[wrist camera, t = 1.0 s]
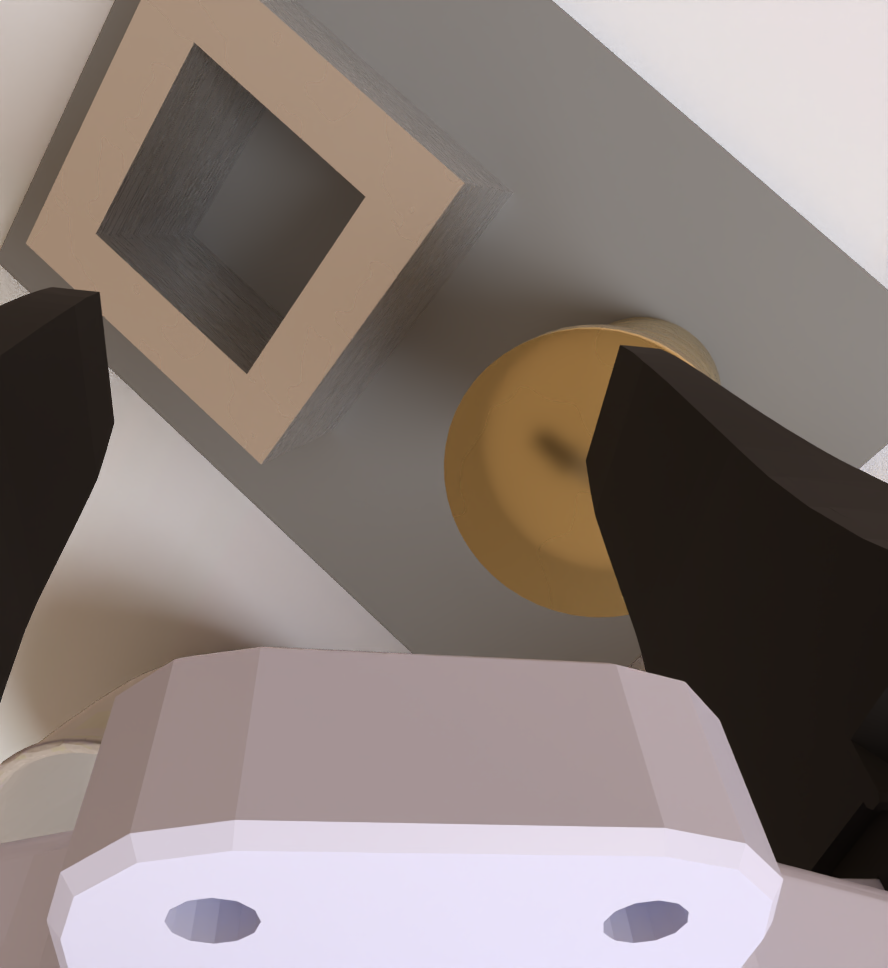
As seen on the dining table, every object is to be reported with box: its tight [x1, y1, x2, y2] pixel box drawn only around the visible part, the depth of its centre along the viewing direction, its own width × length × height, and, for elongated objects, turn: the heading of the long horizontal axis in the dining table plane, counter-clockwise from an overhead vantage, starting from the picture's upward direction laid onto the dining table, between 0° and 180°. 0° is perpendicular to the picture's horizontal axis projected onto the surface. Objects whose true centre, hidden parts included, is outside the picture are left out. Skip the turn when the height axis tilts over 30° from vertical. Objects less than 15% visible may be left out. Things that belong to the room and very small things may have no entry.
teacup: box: [0, 667, 161, 843], centre depth 26 cm, size 14×11×8 cm
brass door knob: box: [444, 317, 721, 617], centre depth 17 cm, size 5×5×8 cm
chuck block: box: [26, 0, 513, 464], centre depth 21 cm, size 8×8×4 cm
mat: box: [0, 0, 888, 667], centre depth 23 cm, size 23×16×1 cm
